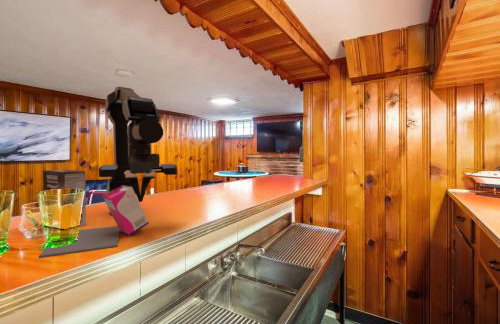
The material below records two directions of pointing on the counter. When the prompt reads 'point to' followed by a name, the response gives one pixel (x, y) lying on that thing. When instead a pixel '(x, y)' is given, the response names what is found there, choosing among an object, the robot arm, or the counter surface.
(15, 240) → the counter surface
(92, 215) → the counter surface
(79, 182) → the coffee box
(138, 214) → the supplement box
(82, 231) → the bar mat
